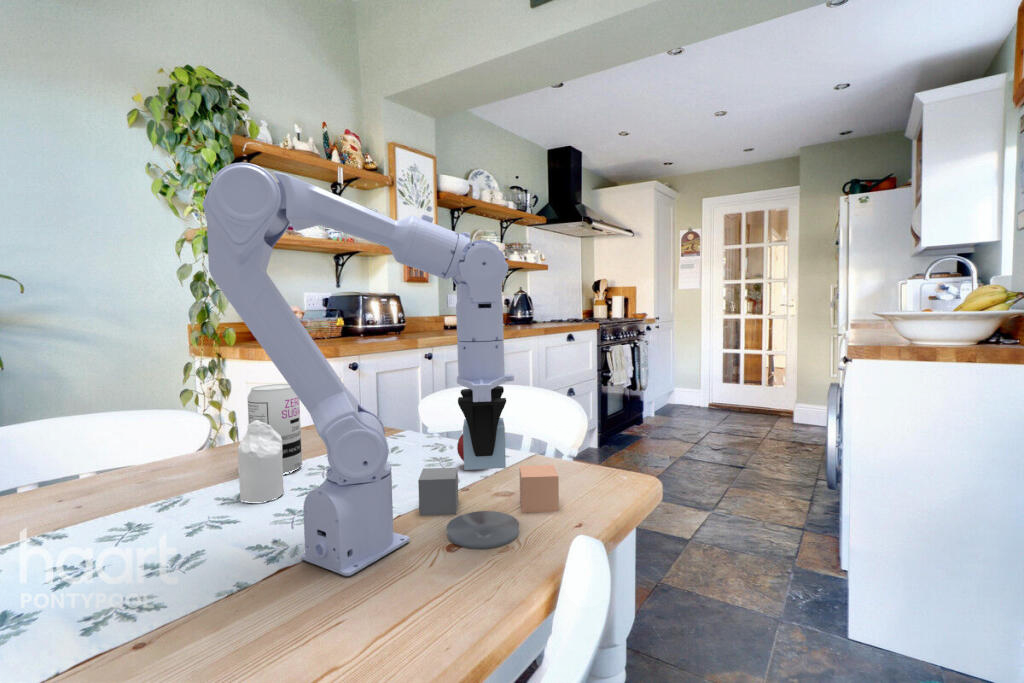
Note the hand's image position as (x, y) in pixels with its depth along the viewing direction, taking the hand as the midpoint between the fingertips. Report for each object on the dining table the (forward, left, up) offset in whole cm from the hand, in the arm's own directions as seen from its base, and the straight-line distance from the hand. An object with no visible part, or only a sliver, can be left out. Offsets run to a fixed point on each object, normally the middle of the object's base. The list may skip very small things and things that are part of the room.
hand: (483, 449), depth 62 cm
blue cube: (0, 0, -2) cm, 2 cm away
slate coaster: (-1, 0, -10) cm, 10 cm away
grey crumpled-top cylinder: (-7, +36, -11) cm, 38 cm away
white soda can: (+2, +46, -11) cm, 47 cm away
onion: (+20, +16, -11) cm, 27 cm away
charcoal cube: (+3, +10, -10) cm, 14 cm away
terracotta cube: (+10, -2, -10) cm, 15 cm away
